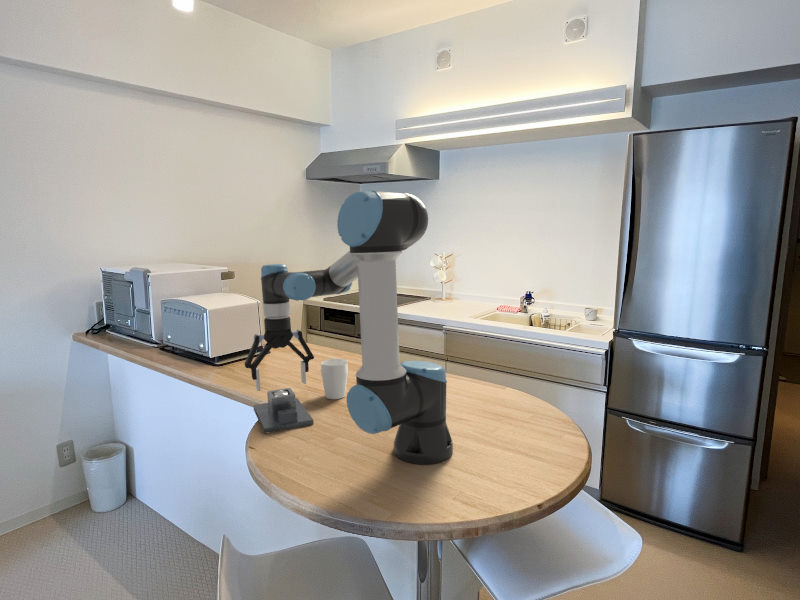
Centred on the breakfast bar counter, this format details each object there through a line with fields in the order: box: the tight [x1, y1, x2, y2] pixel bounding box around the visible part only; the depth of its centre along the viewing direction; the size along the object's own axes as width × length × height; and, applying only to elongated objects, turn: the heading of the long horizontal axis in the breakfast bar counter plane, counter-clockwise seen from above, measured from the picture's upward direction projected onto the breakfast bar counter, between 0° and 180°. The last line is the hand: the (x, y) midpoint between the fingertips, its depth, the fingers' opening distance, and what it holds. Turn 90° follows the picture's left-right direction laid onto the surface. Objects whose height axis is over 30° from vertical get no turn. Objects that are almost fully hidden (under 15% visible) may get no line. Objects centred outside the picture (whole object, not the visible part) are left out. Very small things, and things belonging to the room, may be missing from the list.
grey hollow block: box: [266, 387, 296, 418], centre depth 147 cm, size 7×7×6 cm
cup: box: [320, 358, 349, 400], centre depth 164 cm, size 9×9×12 cm
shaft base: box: [253, 391, 314, 434], centre depth 147 cm, size 20×14×8 cm
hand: (281, 386), depth 146 cm, fingers open, 13 cm apart
